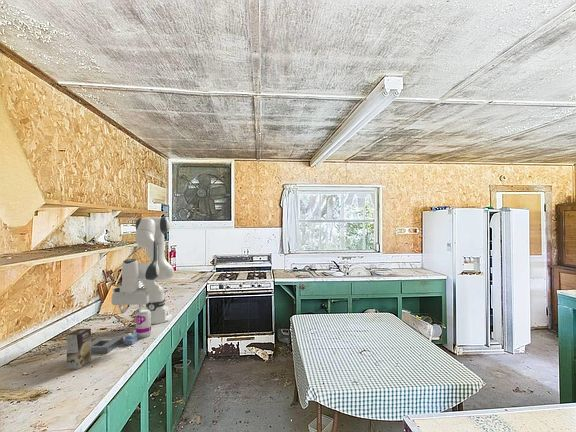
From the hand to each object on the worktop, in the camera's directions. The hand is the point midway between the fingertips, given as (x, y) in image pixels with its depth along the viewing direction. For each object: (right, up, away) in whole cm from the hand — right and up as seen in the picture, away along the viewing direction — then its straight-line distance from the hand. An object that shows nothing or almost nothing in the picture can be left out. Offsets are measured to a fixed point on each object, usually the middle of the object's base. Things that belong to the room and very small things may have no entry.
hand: (130, 312), depth 191 cm
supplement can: (+3, -17, +11) cm, 21 cm away
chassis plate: (-12, -17, -7) cm, 22 cm away
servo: (0, -17, 0) cm, 17 cm away
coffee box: (-11, -17, -29) cm, 35 cm away
